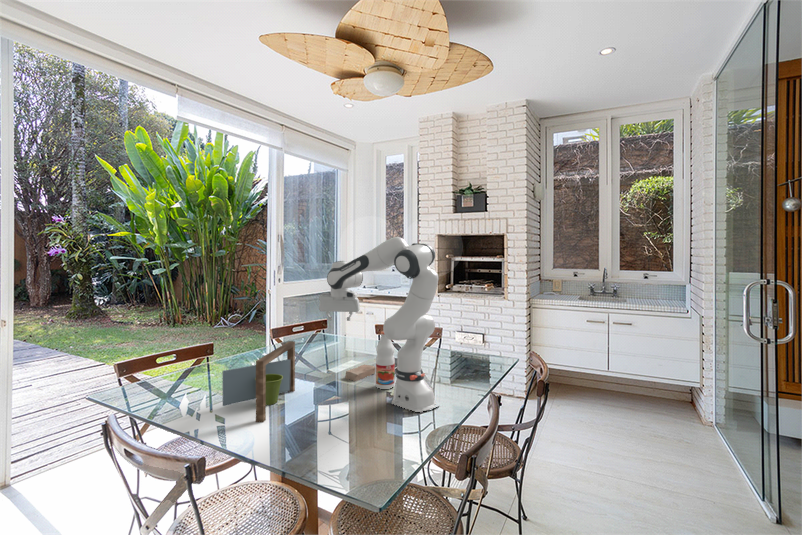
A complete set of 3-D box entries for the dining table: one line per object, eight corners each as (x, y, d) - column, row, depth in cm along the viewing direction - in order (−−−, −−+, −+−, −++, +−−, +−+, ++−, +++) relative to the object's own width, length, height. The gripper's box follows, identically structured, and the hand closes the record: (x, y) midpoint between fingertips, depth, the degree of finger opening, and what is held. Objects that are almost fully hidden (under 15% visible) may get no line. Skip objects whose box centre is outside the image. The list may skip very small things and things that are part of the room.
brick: (356, 382, 201) (356, 373, 201) (344, 379, 206) (344, 370, 206) (375, 374, 215) (376, 366, 215) (364, 372, 220) (364, 363, 220)
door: (290, 390, 184) (290, 359, 183) (223, 406, 164) (223, 371, 163) (288, 389, 186) (288, 358, 185) (221, 404, 166) (221, 369, 166)
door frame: (294, 390, 187) (294, 341, 186) (263, 422, 150) (263, 361, 150) (288, 390, 187) (288, 341, 186) (255, 422, 150) (255, 361, 150)
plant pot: (265, 410, 162) (265, 383, 162) (249, 403, 169) (249, 378, 169) (288, 401, 172) (288, 376, 172) (272, 396, 179) (272, 372, 179)
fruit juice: (391, 383, 199) (391, 329, 198) (396, 389, 190) (397, 332, 189) (373, 384, 196) (374, 330, 195) (378, 391, 187) (378, 333, 186)
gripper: (317, 293, 191) (317, 321, 191) (358, 294, 189) (357, 321, 190) (320, 292, 197) (320, 319, 197) (360, 292, 196) (360, 319, 196)
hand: (339, 320), depth 194 cm, fingers open, 8 cm apart
